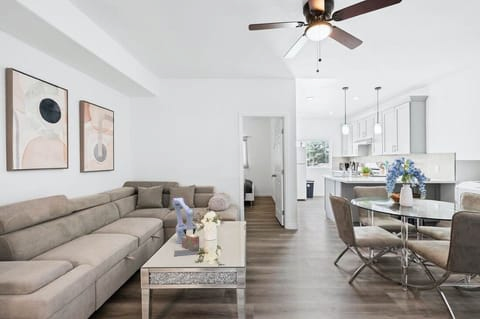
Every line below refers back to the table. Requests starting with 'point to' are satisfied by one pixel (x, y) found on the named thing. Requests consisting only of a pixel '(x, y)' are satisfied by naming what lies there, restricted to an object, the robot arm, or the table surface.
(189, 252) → the mat
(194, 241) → the stack of blocks
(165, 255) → the table surface
